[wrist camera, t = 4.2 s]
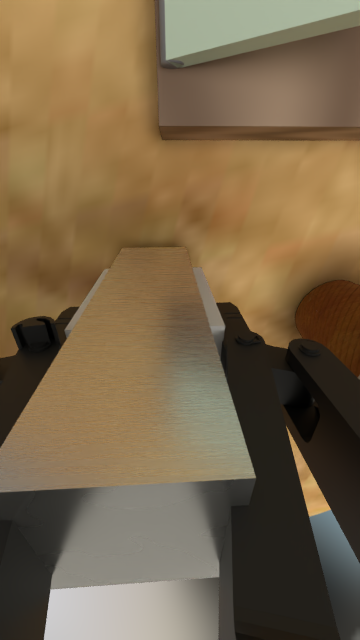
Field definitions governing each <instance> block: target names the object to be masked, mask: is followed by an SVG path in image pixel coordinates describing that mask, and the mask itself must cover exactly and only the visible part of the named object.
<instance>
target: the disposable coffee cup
mask: <svg viewBox="0 0 360 640" xmlns="http://www.w3.org/2000/svg"><path fill="white" fill-rule="evenodd" d="M295 321H296V327H297V329H298V331H299V332H300V334H301V336H302V338H303V339H310V340H314V341H316V342H318V343H321V344H323V345H324V346H325V347H327V348H328V349H329V350H330V351H331V352H332V353H333V354H334V355H335V356H336V357H337V358H338V359H339V360H340V361H341V362H342V363H343V364H344V365H345V366H346V367H347V368H348V369H349V370H350V371H351V372H352V373H353V374H354V375H355V376H356V377H358V378H359V379H360V285H358V284H355V283H353V282H350V281H344V280H337V281H332V282H328V283H325V284H323V285H320V286H318V287H317V288H315V289H314V290H312V291H311V292H310V293H309V294H308V295H307V296H306V297H305V298H304V299H303V300H302V302H301V303H300V305H299V307H298V309H297V311H296V316H295Z"/></svg>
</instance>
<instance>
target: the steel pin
mask: <svg viewBox="0 0 360 640" xmlns="http://www.w3.org/2000/svg"><path fill="white" fill-rule="evenodd" d="M255 481H256V476H255V473H254V469H253V466H252V463H251V459H250V456H249V453H248V450H247V446H246V443H245V440H244V436H243V433H242V430H241V426H240V423H239V420H238V417H237V413H236V410H235V407H234V403H233V400H232V397H231V394H230V390H229V387H228V384H227V380H226V377H225V374H224V371H223V367H222V364H221V361H220V357H219V354H218V351H217V348H216V344H215V341H214V338H213V334H212V331H211V328H210V324H209V321H208V318H207V315H206V311H205V308H204V305H203V301H202V298H201V295H200V292H199V288H198V285H197V282H196V278H195V275H194V272H193V269H192V265H191V262H190V259H189V255H188V252H187V249H186V247H150V248H122V249H121V251H120V252H119V254H118V256H117V257H116V259H115V261H114V262H113V264H112V266H111V267H110V269H109V270H108V272H107V274H106V275H105V277H104V279H103V280H102V282H101V284H100V285H99V287H98V289H97V290H96V292H95V293H94V295H93V297H92V298H91V300H90V302H89V303H88V305H87V307H86V308H85V310H84V312H83V313H82V315H81V316H80V318H79V320H78V321H77V323H76V325H75V326H74V328H73V330H72V331H71V333H70V334H69V336H68V338H67V339H66V341H65V343H64V344H63V346H62V348H61V349H60V351H59V353H58V354H57V356H56V357H55V359H54V361H53V362H52V364H51V366H50V367H49V369H48V371H47V372H46V374H45V375H44V377H43V379H42V380H41V382H40V384H39V385H38V387H37V389H36V390H35V392H34V394H33V395H32V397H31V398H30V400H29V402H28V403H27V405H26V407H25V408H24V410H23V412H22V413H21V415H20V417H19V418H18V420H17V421H16V423H15V425H14V426H13V428H12V430H11V431H10V433H9V435H8V436H7V438H6V439H5V441H4V443H3V444H2V446H1V448H0V521H2V520H13V521H14V522H15V524H16V525H17V527H18V528H19V530H20V531H21V532H22V534H23V535H24V537H25V538H26V539H27V541H28V542H29V544H30V545H31V546H32V548H33V549H34V551H35V552H36V553H37V555H38V556H39V558H40V559H41V560H42V562H43V563H44V565H45V566H46V567H47V569H48V570H49V572H50V573H51V575H52V580H51V588H50V589H62V588H75V587H89V586H103V585H116V584H129V583H143V582H157V581H170V580H183V579H198V578H211V577H219V563H220V558H221V553H222V548H223V543H224V538H225V533H226V528H227V523H228V518H229V513H230V508H231V506H242V505H249V503H250V499H251V495H252V492H253V488H254V484H255Z"/></svg>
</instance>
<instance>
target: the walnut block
mask: <svg viewBox="0 0 360 640" xmlns="http://www.w3.org/2000/svg"><path fill="white" fill-rule="evenodd" d="M155 20H156V49H157V79H158V108H159V128H160V132H161V136H162V140H360V26H356V27H352V28H347V29H343V30H339V31H335V32H330V33H326V34H322V35H318V36H313V37H309V38H305V39H301V40H297V41H292V42H288V43H284V44H280V45H275V46H271V47H267V48H263V49H258V50H254V51H250V52H246V53H241V54H237V55H233V56H229V57H224V58H220V59H216V60H212V61H208V62H203V63H199V64H195V65H191V66H186V67H182V68H178V69H168V68H164V67H162V66H161V58H160V23H159V0H155Z"/></svg>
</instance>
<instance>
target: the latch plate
mask: <svg viewBox="0 0 360 640" xmlns="http://www.w3.org/2000/svg"><path fill="white" fill-rule="evenodd" d="M159 23H160V58H161V66H162V67H164V68H168V69H178V68H182V67H186V66H191V65H195V64H199V63H203V62H208V61H212V60H216V59H220V58H224V57H229V56H233V55H237V54H241V53H246V52H250V51H254V50H258V49H263V48H267V47H271V46H275V45H280V44H284V43H288V42H292V41H297V40H301V39H305V38H309V37H313V36H318V35H322V34H326V33H330V32H335V31H339V30H343V29H347V28H352V27H356V26H360V0H159Z"/></svg>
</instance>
